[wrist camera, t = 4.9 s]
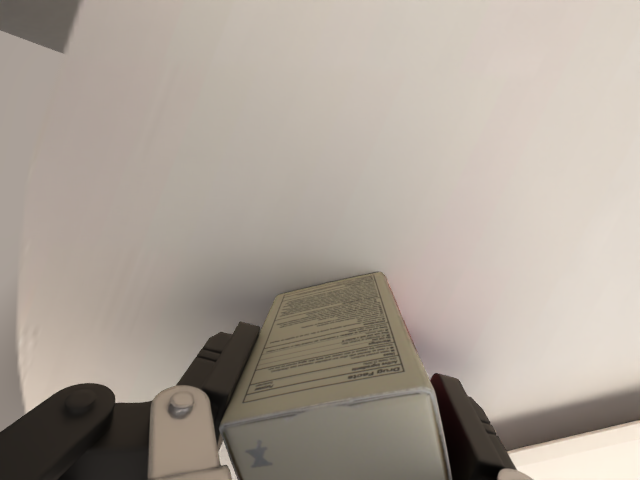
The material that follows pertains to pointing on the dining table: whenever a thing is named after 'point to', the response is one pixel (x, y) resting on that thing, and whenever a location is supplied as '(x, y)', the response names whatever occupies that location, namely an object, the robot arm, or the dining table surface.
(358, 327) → the small box
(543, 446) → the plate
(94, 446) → the robot arm
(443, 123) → the dining table surface
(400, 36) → the dining table surface
